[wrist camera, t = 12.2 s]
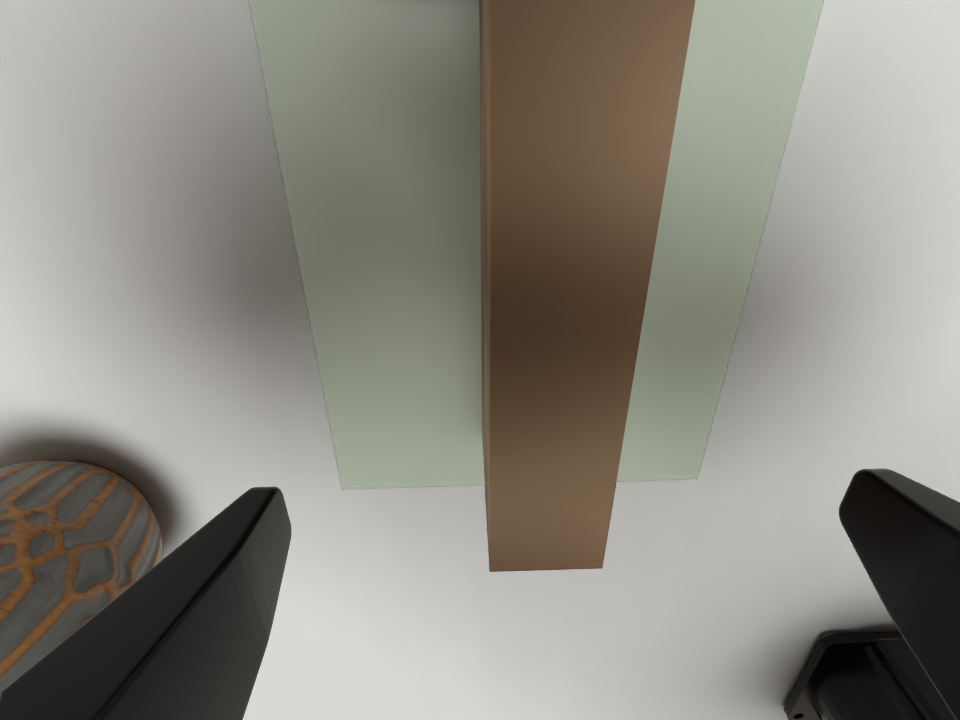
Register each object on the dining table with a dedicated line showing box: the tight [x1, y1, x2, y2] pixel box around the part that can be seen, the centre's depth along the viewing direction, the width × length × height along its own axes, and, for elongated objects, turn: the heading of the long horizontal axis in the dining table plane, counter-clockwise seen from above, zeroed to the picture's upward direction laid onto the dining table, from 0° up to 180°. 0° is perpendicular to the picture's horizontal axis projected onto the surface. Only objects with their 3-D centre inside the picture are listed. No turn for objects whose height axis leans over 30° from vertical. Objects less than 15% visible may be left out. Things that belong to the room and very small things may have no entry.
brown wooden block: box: [479, 0, 695, 572], centre depth 11 cm, size 13×6×5 cm, turn 0°
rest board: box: [249, 0, 824, 489], centre depth 12 cm, size 20×12×1 cm, turn 1°
